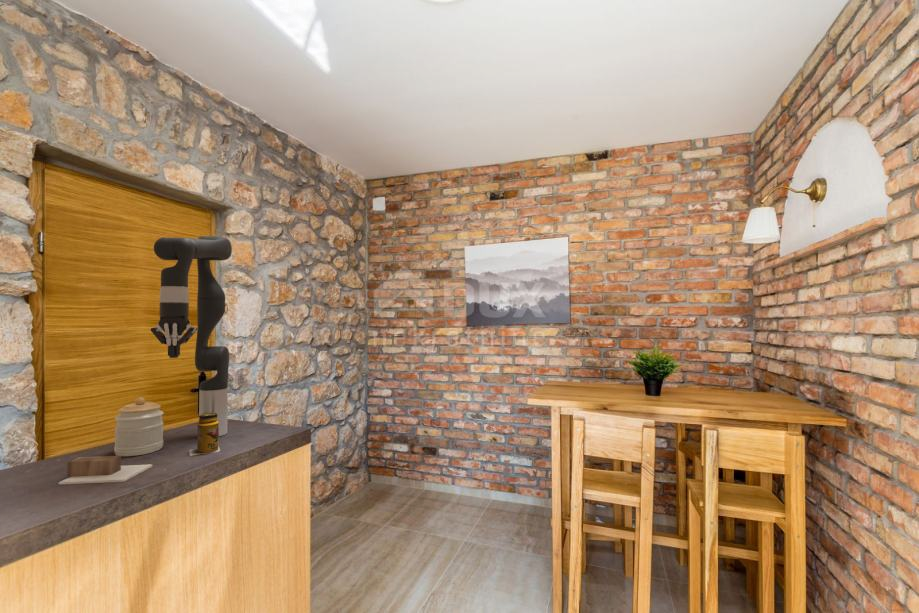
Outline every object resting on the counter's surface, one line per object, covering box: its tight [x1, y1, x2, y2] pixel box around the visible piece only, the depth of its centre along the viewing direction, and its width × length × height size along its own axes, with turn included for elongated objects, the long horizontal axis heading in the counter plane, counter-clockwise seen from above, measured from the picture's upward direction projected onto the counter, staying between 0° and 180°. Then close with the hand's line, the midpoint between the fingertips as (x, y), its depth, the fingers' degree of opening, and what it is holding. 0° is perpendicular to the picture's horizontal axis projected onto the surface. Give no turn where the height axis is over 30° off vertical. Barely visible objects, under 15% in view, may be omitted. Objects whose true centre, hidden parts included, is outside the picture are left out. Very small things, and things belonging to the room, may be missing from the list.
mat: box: [58, 464, 153, 485], centre depth 117 cm, size 12×16×1 cm
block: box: [66, 455, 122, 478], centre depth 117 cm, size 4×4×11 cm
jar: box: [113, 396, 165, 457], centre depth 140 cm, size 13×13×18 cm
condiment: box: [189, 413, 221, 457], centre depth 139 cm, size 7×8×12 cm
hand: (173, 357), depth 130 cm, fingers closed
